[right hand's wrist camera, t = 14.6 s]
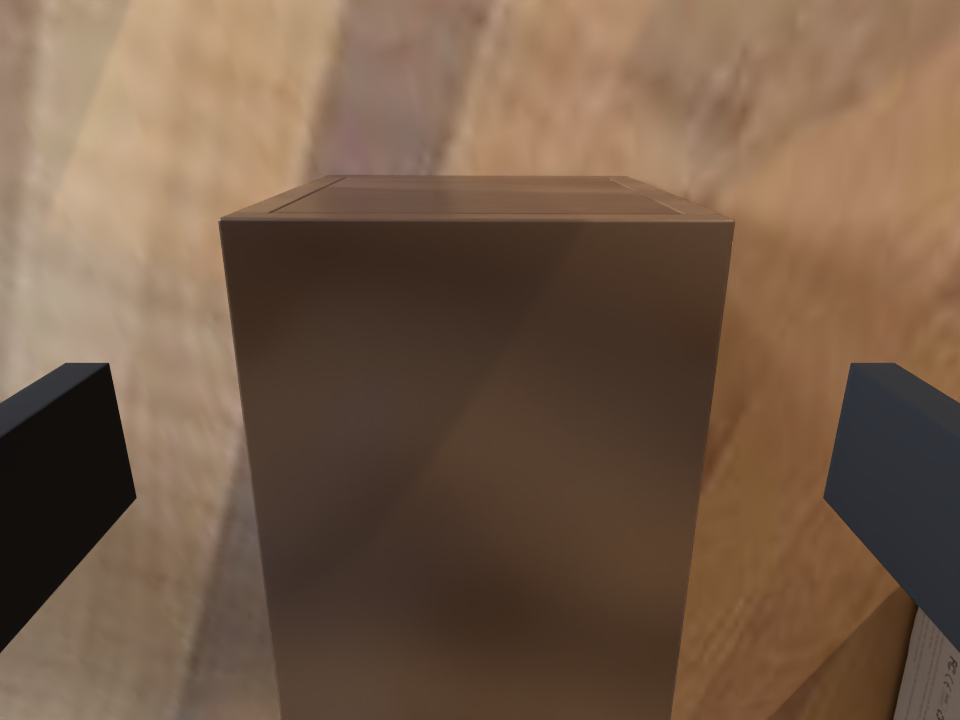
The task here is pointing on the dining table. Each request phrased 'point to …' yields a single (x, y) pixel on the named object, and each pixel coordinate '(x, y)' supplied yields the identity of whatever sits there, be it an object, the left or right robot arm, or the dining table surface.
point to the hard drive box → (929, 675)
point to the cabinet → (476, 439)
